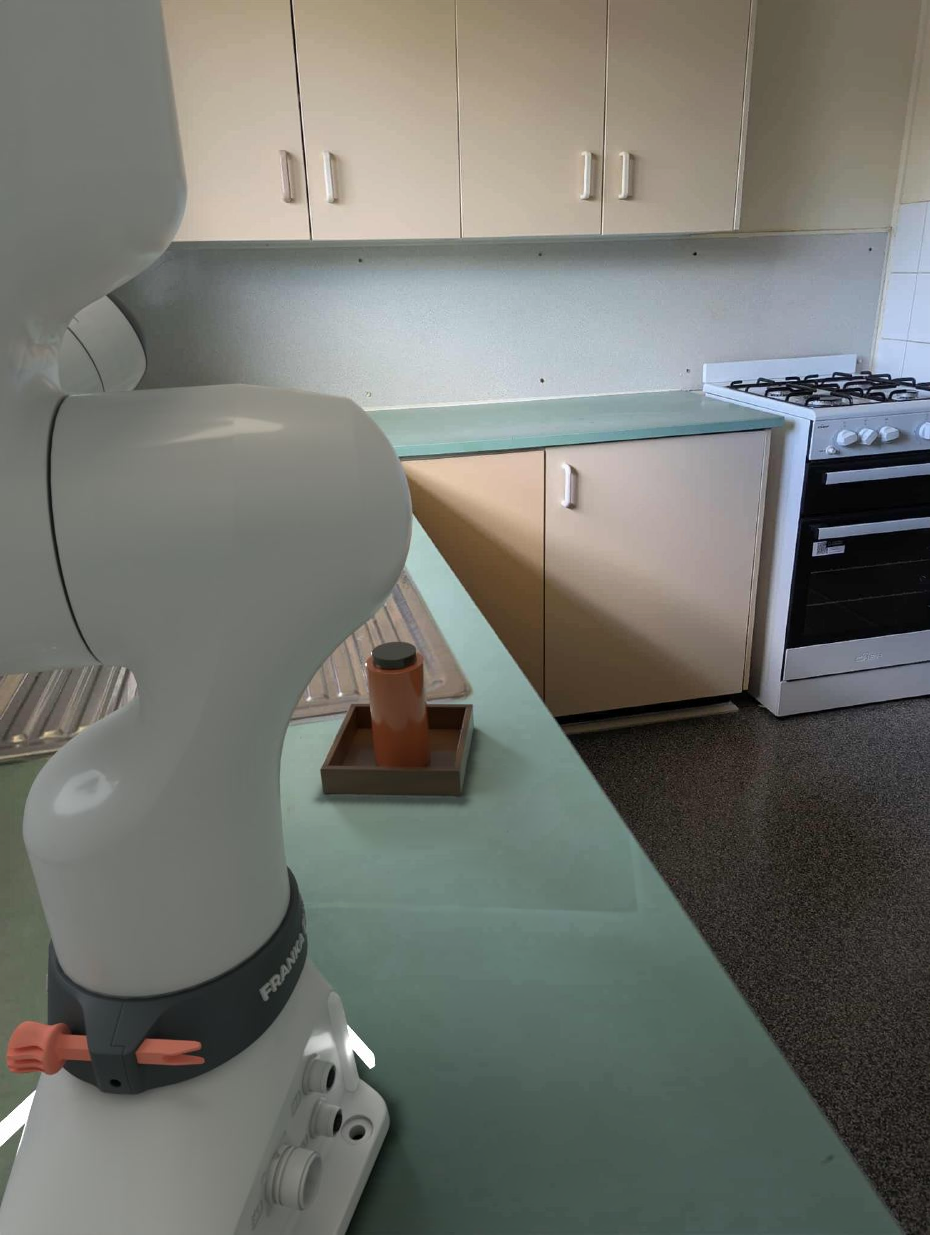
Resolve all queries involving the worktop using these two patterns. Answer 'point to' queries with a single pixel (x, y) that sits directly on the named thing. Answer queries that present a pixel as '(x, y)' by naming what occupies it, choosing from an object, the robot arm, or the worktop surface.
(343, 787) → the tray
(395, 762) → the spice jar
